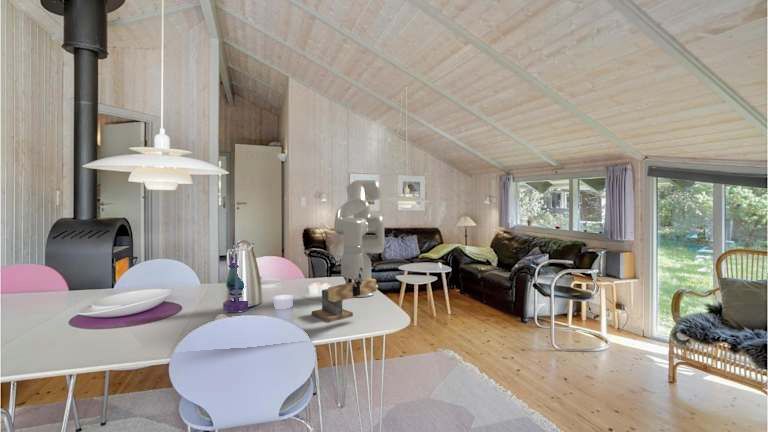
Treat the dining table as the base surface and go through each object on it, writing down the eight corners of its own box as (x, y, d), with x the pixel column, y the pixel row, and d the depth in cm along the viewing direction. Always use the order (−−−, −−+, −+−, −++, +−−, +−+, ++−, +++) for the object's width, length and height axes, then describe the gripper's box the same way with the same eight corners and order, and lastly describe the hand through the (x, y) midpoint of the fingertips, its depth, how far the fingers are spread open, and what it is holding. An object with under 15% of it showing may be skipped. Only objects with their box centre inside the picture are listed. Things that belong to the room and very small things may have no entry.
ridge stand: (334, 309, 176) (333, 286, 175) (352, 315, 165) (352, 292, 165) (311, 314, 167) (311, 291, 167) (329, 322, 157) (329, 296, 157)
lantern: (223, 307, 179) (221, 244, 178) (249, 305, 183) (248, 243, 182) (223, 315, 167) (221, 247, 165) (251, 312, 171) (249, 246, 170)
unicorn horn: (242, 341, 137) (242, 328, 137) (214, 327, 153) (213, 315, 153) (254, 338, 140) (254, 325, 140) (225, 324, 156) (225, 312, 156)
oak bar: (370, 289, 164) (370, 278, 164) (376, 291, 162) (376, 279, 161) (328, 300, 149) (328, 287, 149) (333, 301, 147) (333, 289, 146)
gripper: (333, 248, 158) (333, 292, 159) (358, 253, 146) (359, 300, 147) (347, 247, 163) (348, 289, 164) (373, 251, 151) (373, 297, 152)
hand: (353, 294), depth 155 cm, fingers closed on oak bar, 3 cm apart
